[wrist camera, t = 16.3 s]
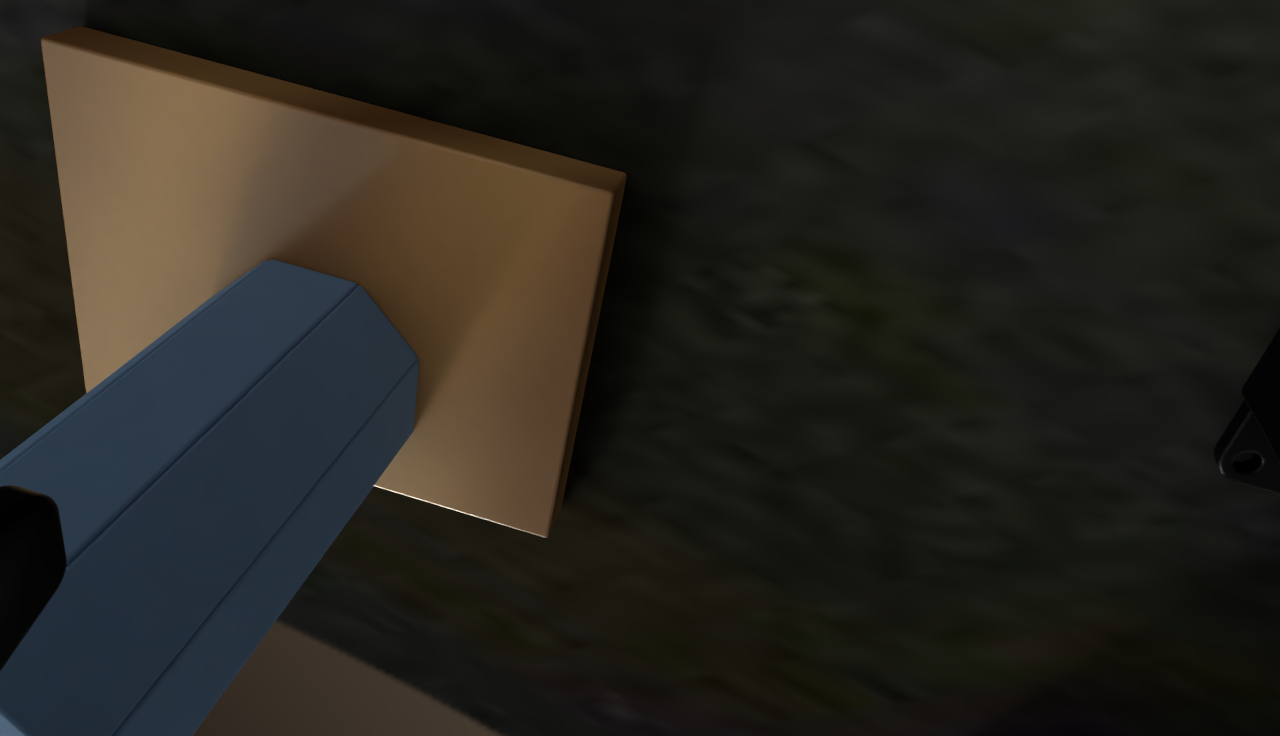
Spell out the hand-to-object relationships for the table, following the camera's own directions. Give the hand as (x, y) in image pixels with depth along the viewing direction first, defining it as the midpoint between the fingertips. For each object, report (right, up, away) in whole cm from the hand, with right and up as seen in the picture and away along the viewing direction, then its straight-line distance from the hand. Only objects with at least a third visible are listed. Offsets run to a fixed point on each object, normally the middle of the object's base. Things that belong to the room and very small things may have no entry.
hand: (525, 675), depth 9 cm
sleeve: (-6, +3, +14) cm, 16 cm away
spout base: (-6, +5, +14) cm, 16 cm away
